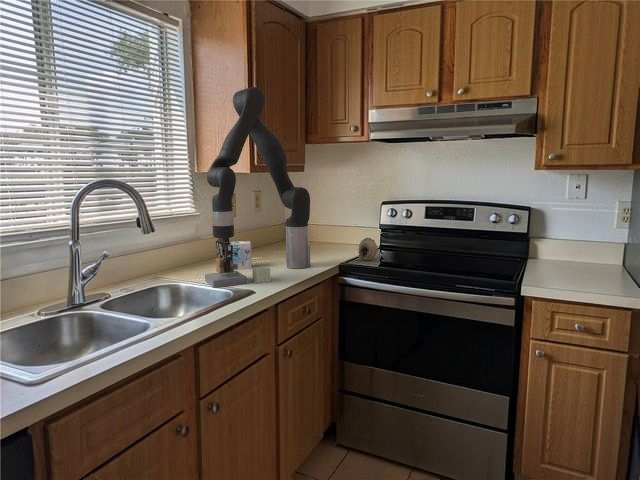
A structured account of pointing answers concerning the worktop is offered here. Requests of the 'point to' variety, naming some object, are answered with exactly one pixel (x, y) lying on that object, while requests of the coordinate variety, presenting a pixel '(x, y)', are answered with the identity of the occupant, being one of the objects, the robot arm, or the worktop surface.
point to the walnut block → (221, 265)
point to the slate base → (225, 279)
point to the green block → (261, 274)
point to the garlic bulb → (367, 249)
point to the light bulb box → (242, 255)
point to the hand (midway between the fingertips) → (225, 270)
